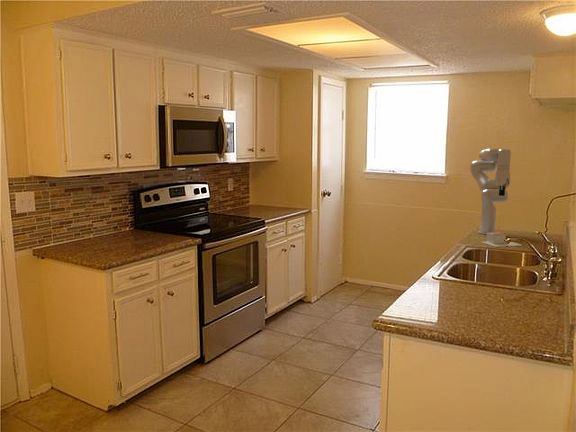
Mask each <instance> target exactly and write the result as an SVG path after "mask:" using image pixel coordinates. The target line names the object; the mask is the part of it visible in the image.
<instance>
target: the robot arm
mask: <svg viewBox="0 0 576 432" xmlns="http://www.w3.org/2000/svg"><path fill="white" fill-rule="evenodd" d="M511 153H512V152H511V149H508V148H486V149H485V148H484V149H482V150H480V152H479V154H478V157H479V159H477V160H473V161H472V162H471V164H470V173H471V175H472V177H473V179H474V180H475V181H476V183H477V186H478V188H479V190H480V191H481V193H480V197H481V198H480V199H481V217H480V219H481V220H480V226H478V229H479V230H478V231H477V232H478V234H481V235H487V232H493V233H496V232H497V231H496V222H497V221H496V219H497V208H496V206H495V204H494V203H496V204H497V203H505V202H507V201H508V199H509V196H508V191H507V188H509V185H510V182H511V171H510V169H511ZM494 171H495V177H494V179H491V178H489V176H488V175H487V174H486V173H492V172H494ZM485 172H486V173H485Z"/></svg>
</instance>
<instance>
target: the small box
mask: <svg viewBox="0 0 576 432" xmlns="http://www.w3.org/2000/svg"><path fill="white" fill-rule="evenodd" d="M506 238H507V237H506V234H504V233H501V232H499V231H496V233H493V232H487V234H486V241H488V242H491V243H493V244H505V242H504V240H505V241H506Z"/></svg>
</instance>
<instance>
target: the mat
mask: <svg viewBox="0 0 576 432" xmlns="http://www.w3.org/2000/svg"><path fill="white" fill-rule="evenodd" d="M480 243H482V244H484V245H488V246H491V247H494V248H509V247H523V246H524V245H523V244H520V243H517V242H513V241H511V242H510V243H509V244H493V243H491V242H488V241H487V240H486V241H481V242H480ZM506 246H508V247H506Z"/></svg>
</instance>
